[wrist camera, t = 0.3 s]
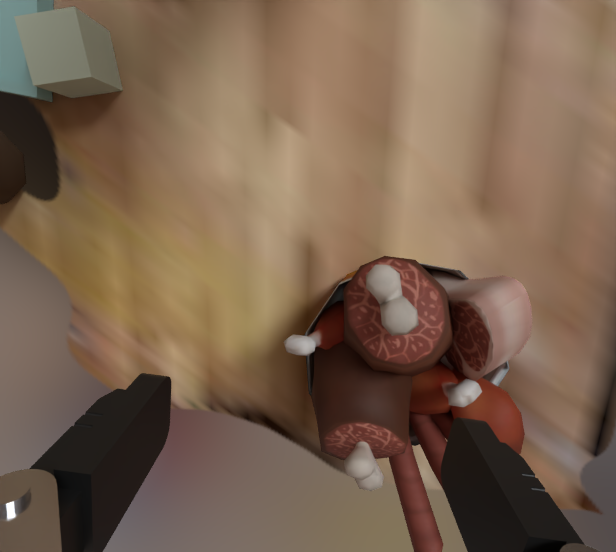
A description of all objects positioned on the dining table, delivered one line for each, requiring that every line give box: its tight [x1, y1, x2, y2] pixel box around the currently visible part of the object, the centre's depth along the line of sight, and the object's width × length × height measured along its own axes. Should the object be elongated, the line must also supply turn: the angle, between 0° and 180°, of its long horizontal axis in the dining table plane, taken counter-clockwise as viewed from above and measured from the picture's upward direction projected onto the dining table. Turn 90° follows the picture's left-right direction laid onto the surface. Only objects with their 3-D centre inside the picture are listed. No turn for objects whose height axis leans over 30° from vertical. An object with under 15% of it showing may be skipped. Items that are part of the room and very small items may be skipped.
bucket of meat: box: [284, 256, 532, 552], centre depth 30 cm, size 20×16×20 cm
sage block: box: [14, 6, 123, 98], centre depth 32 cm, size 5×5×5 cm
